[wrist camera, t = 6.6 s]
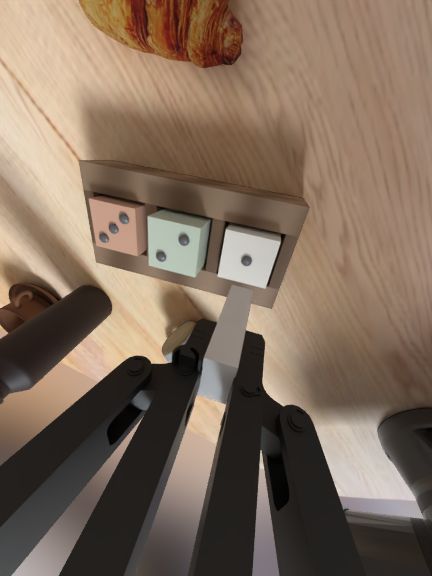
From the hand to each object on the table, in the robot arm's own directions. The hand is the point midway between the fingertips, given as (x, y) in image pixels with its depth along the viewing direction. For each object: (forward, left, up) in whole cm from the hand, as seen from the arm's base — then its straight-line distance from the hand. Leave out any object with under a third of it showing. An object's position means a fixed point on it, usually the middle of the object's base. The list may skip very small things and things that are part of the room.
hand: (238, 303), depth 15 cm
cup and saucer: (+36, +22, -13) cm, 44 cm away
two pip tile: (+7, 0, -9) cm, 12 cm away
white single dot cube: (0, 0, -10) cm, 10 cm away
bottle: (+24, +17, -13) cm, 32 cm away
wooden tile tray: (+7, 0, -13) cm, 15 cm away
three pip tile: (+14, 0, -10) cm, 18 cm away
